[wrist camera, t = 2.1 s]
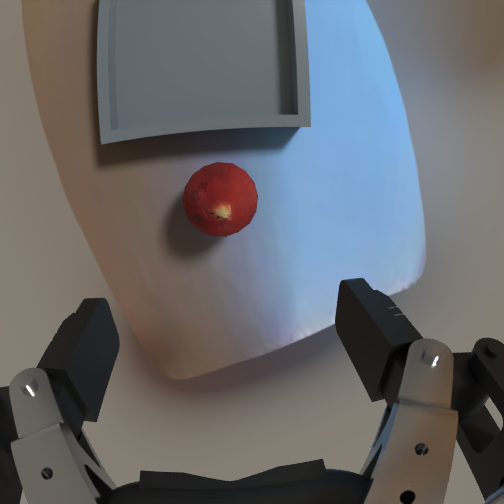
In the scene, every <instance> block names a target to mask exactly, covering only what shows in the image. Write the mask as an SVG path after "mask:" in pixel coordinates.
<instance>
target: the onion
mask: <svg viewBox="0 0 504 504" xmlns="http://www.w3.org/2000/svg"><path fill="white" fill-rule="evenodd" d="M257 200H258V194H257V191H256V187H255V183H254V182H253V180H252V179H251V178H250V176H249V175H248V174H247V172H246V171H245V170H243V169H241V168H239V167H238V166H236V165H234V164H232V163H221V162H217V163H213V164H210V165H207V166H204V167H202V168H201V169H200V170H198V171H197V172H195V173H194V174H193V175H192V177H191V178H190V180H189V181H188V183H187V185H186V186H185V192H184V199H183V205H184V208H185V211H186V214H187V217H188V220H189V221H190V222H191V223H192V224H194V225H195V226H196V227H197V228H198V229H199V230H200V231H202V232H205V233H207V234H210V235H212V236H228V235H231V234H234V233H237V232H239V231H240V230H241V229H243V228H244V227H246V226H247V225H248V224H250V222H251V220H252V218H253V216H254V215H255V213H256V208H257Z"/></svg>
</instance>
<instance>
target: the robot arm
mask: <svg viewBox="0 0 504 504" xmlns="http://www.w3.org/2000/svg"><path fill="white" fill-rule="evenodd" d="M335 325H336V330H337V334H338V336H339V338H340V340H341V341H342V343H343V345H344V347H345V349H346V351H347V353H348V355H349V357H350V359H351V361H352V363H353V365H354V367H355V369H356V371H357V373H358V375H359V377H360V379H361V381H362V383H363V385H364V387H365V389H366V390H367V393H368V395H369V397H370V399H371V401H372V402H374V401H378V400H382V399H385V401H386V402H387V406H386V408H385V411H384V414H383V417H382V420H381V422H380V426H379V428H378V431H377V434H376V437H375V439H374V442H373V445H372V448H371V450H370V452H369V455H368V457H367V459H366V461H365V463H364V465H363V467H362V469H361V471H360V474H357V473H353V472H349V471H344V470H336V469H326V468H325V465H324V462H323V459H319V460H314V461H309V462H304V463H298V464H292V465H286V466H279V467H276V468H273V469H270V470H267V471H264V472H261V473H258V474H255V475H252V476H249V477H246V478H242V479H239V480H236V481H223V480H217V479H212V478H206V477H202V476H197V475H192V474H187V473H178V472H155V471H140V481H138V482H134V483H129V484H126V485H123V486H120V487H117V486H116V484H115V483H114V482H113V481H112V479H111V478H110V477H109V475H108V474H107V472H106V471H105V469H104V467H103V466H102V464H101V462H100V460H99V458H98V457H97V455H96V453H95V451H94V449H93V447H92V445H91V444H90V442H89V440H88V438H87V436H86V434H85V432H84V430H83V429H82V425H83V421H91V422H97V419H98V416H99V412H100V409H101V405H102V402H103V398H104V395H105V392H106V388H107V385H108V382H109V379H110V376H111V372H112V369H113V366H114V363H115V360H116V357H117V354H118V351H119V345H120V344H119V335H118V332H117V329H116V326H115V323H114V320H113V317H112V314H111V310H110V307H109V304H108V302H107V300H106V299H105V298H87V299H84V300H83V301H82V303H81V305H80V306H79V308H78V309H77V311H76V313H72V314H71V315H70V316H69V317H68V318H67V319H65V320H64V321H63V322H62V324H61V326H60V327H59V329H58V331H57V333H56V334H55V336H54V337H53V341H51V342H50V344H49V346H48V348H47V349H46V351H45V353H44V355H43V356H42V358H41V360H40V362H39V363H38V365H37V367H36V368H29V369H26V370H23V371H21V372H20V373H18V374H17V375H16V376H15V377H14V378H13V380H12V382H11V383H10V386H7V387H0V504H20V499H21V494H22V489H23V490H24V493H25V496H26V499H27V501H28V504H443V502H444V498H445V494H446V490H447V485H448V481H449V476H450V471H451V466H452V461H453V454H454V448H455V441H456V440H457V442H458V444H459V446H460V448H461V450H462V452H463V454H464V456H465V458H466V460H467V462H468V464H469V466H470V468H471V470H472V473H473V475H474V477H475V479H476V481H477V484H478V486H479V488H480V490H481V493H482V495H483V497H484V499H485V504H504V344H503V343H501V342H500V341H498V340H495V339H492V338H482V339H479V340H478V341H477V342H476V344H475V345H474V348H473V350H472V352H468V353H467V352H466V353H452V351H451V350H450V349H449V347H448V346H446V345H445V344H444V343H442V342H440V341H438V340H435V339H428V338H425V339H424V338H423V337H422V336H421V335H420V333H419V332H418V331H417V330H416V329H415V327H414V326H413V325H412V324H411V322H410V321H409V320H408V319H407V318H406V316H405V315H403V314H402V312H401V310H400V309H399V308H397V307H396V305H395V303H394V302H393V301H392V300H391V299H390V298H389V297H388V296H387V295H385V294H383V293H382V292H380V291H378V290H373V289H372V288H371V287H370V285H369V284H368V283H367V282H366V281H365V279H363V278H356V279H348V280H342V281H341V282H340V285H339V292H338V301H337V308H336V316H335ZM489 397H490V398H491V400H492V401H493V403H494V404H495V406H496V407H497V409H498V410H499V412H500V413H501V415H502V418H503V427H502V430H501V431H500V429H499V428H498V426H497V424H496V423H495V421H494V419H493V418H492V416H491V414H490V413H489V411H488V410H487V408H486V406H485V405H484V404H485V403H486V401H487V399H488V398H489Z"/></svg>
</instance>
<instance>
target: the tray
mask: <svg viewBox="0 0 504 504" xmlns="http://www.w3.org/2000/svg"><path fill="white" fill-rule="evenodd" d="M97 91H98V111H99V125H100V137H101V145H102V144H107V143H113V142H118V141H124V140H130V139H137V138H143V137H150V136H158V135H166V134H174V133H183V132H193V131H205V130H218V129H233V128H255V127H311V118H310V84H309V61H308V44H307V29H306V15H305V3H304V0H100V1H99V14H98V32H97Z"/></svg>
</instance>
